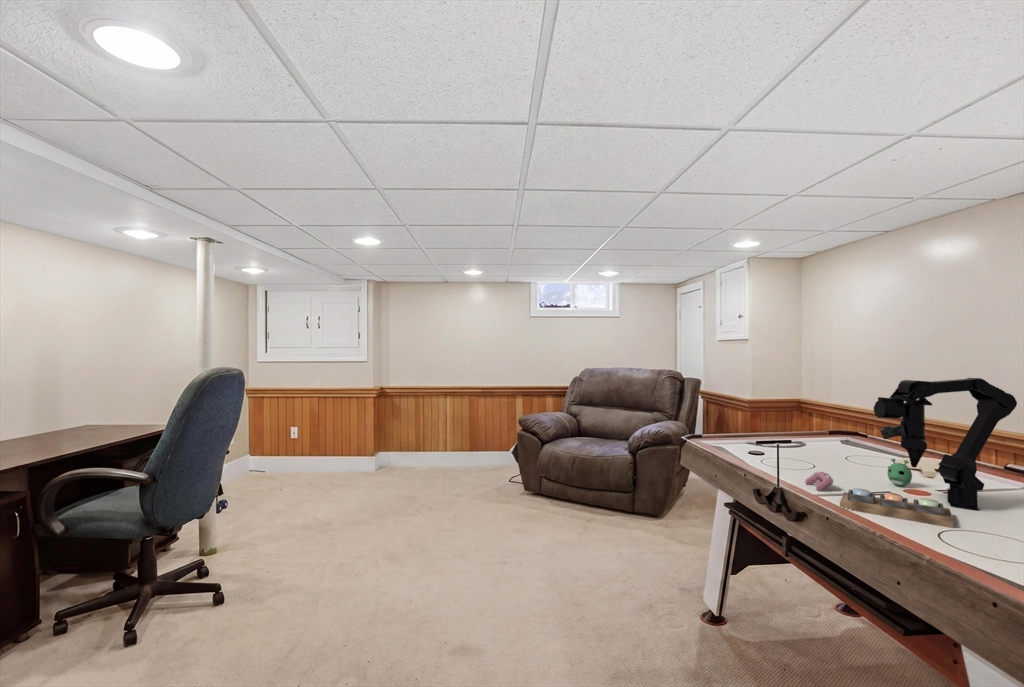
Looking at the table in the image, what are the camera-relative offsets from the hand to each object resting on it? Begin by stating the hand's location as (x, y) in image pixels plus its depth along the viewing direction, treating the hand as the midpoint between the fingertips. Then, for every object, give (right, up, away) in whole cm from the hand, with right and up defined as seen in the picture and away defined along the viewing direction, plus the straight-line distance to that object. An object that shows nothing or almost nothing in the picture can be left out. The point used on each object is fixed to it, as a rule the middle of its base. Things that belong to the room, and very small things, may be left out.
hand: (913, 467), depth 152 cm
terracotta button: (-13, -10, -8) cm, 18 cm away
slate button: (-19, -10, -3) cm, 22 cm away
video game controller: (-19, -13, +18) cm, 29 cm away
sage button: (-7, -10, -13) cm, 17 cm away
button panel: (-13, -12, -8) cm, 19 cm away
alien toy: (+13, -13, +21) cm, 28 cm away
